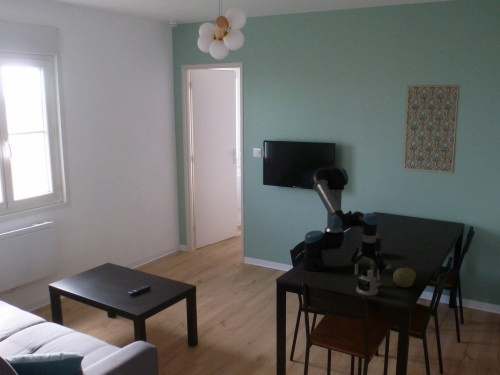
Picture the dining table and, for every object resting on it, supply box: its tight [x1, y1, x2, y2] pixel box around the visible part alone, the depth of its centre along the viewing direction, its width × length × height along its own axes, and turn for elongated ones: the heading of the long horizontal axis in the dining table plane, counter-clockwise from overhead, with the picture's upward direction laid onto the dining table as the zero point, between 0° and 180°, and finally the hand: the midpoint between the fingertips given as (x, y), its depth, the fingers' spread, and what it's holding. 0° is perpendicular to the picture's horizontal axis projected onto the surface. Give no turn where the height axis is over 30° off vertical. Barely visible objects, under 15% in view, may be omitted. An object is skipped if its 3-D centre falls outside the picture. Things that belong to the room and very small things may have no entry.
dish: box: [355, 286, 379, 297], centre depth 265 cm, size 12×12×1 cm
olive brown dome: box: [392, 267, 417, 289], centre depth 272 cm, size 12×12×11 cm
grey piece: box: [357, 267, 377, 293], centre depth 264 cm, size 7×7×12 cm
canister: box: [375, 233, 383, 259], centre depth 322 cm, size 13×13×18 cm
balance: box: [353, 251, 392, 290], centre depth 272 cm, size 22×7×18 cm, turn 51°
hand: (367, 276), depth 264 cm, fingers open, 13 cm apart
